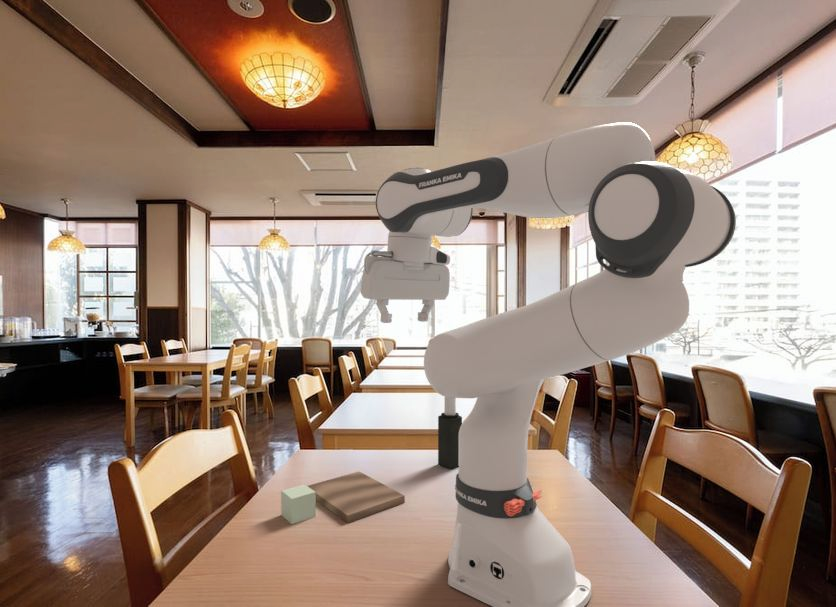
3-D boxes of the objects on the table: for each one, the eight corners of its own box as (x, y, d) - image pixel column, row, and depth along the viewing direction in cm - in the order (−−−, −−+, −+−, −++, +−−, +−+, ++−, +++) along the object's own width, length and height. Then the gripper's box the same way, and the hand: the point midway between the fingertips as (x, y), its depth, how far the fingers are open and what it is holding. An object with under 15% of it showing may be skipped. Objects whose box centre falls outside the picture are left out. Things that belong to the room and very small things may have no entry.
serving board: (404, 502, 97) (404, 495, 97) (347, 523, 88) (347, 515, 88) (359, 477, 111) (359, 471, 111) (305, 492, 102) (305, 486, 102)
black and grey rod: (450, 460, 123) (450, 367, 123) (463, 465, 119) (463, 370, 119) (436, 464, 120) (436, 369, 120) (449, 470, 116) (449, 372, 116)
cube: (315, 516, 91) (315, 491, 91) (291, 524, 88) (291, 498, 88) (304, 508, 95) (304, 484, 95) (281, 515, 91) (281, 490, 91)
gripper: (375, 249, 82) (370, 325, 83) (456, 256, 95) (451, 322, 96) (356, 249, 86) (352, 321, 88) (436, 256, 100) (431, 318, 101)
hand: (404, 321), depth 92 cm, fingers open, 8 cm apart
